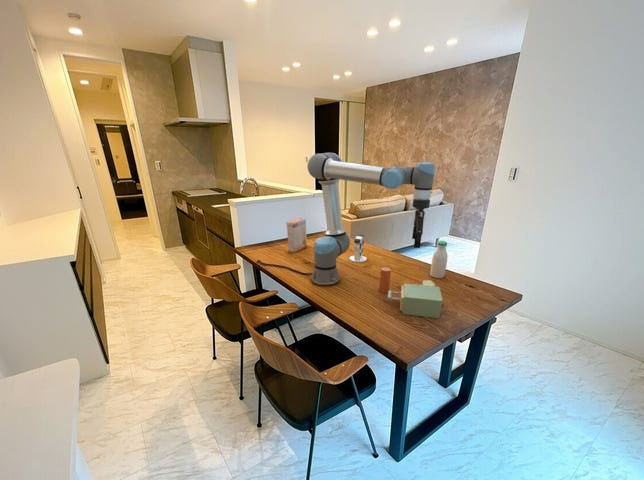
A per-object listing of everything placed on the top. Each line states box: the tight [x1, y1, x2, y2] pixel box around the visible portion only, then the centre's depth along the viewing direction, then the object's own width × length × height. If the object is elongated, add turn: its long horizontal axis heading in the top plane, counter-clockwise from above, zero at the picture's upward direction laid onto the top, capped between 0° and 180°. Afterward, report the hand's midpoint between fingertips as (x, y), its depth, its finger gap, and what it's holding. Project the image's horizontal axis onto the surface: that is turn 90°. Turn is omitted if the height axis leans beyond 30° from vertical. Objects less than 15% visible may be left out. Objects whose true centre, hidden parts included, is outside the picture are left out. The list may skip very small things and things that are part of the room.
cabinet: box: [401, 282, 444, 319], centre depth 134 cm, size 16×14×9 cm
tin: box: [378, 266, 392, 294], centre depth 149 cm, size 5×5×12 cm
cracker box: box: [286, 217, 308, 254], centre depth 205 cm, size 14×6×21 cm, turn 144°
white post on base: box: [348, 233, 368, 263], centre depth 189 cm, size 12×11×15 cm
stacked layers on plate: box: [422, 279, 436, 286], centre depth 147 cm, size 10×9×6 cm
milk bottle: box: [429, 240, 449, 279], centre depth 163 cm, size 8×8×20 cm
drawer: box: [387, 285, 404, 312], centre depth 135 cm, size 20×12×7 cm, turn 76°
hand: (415, 243), depth 144 cm, fingers open, 13 cm apart
